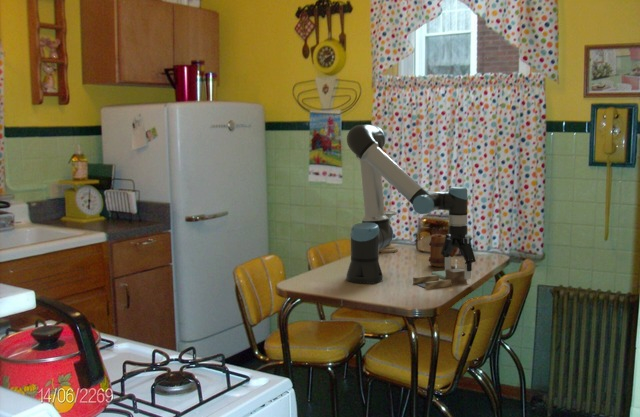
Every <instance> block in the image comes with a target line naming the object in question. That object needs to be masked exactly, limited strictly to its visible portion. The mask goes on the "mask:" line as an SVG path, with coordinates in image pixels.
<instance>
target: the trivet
mask: <svg viewBox="0 0 640 417" xmlns="http://www.w3.org/2000/svg"><path fill="white" fill-rule="evenodd" d="M431 275H439V278H440V279H442V280H445V279H446V273H445V270H438V271H431Z"/></svg>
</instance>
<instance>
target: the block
mask: <svg viewBox="0 0 640 417" xmlns="http://www.w3.org/2000/svg"><path fill="white" fill-rule="evenodd" d="M464 273H465V269H463V268H458V267H457V268H451V269H449V270H446V279H444V280H449V279H451V285H456V284H464V283H468V282H467V280H468V279H464Z"/></svg>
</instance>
